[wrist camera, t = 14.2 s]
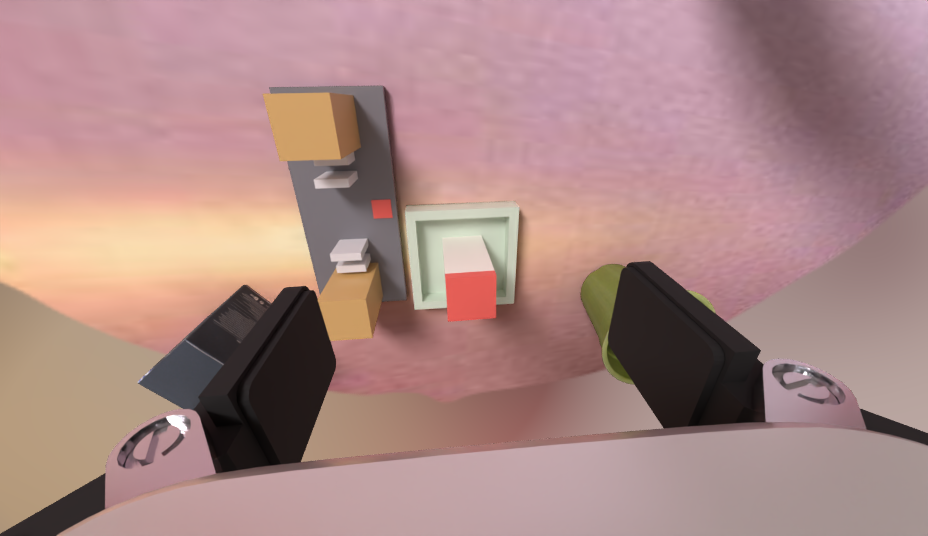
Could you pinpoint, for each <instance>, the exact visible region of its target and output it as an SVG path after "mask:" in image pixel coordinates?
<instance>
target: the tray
mask: <svg viewBox="0 0 928 536" xmlns="http://www.w3.org/2000/svg"><path fill="white" fill-rule="evenodd" d="M405 219H406V229H407V239H408V249H409V259H410V269H411V279H412V289H413V299H414V309H415V310H419V309H435V308H447V301H446V287H445V274H444V259H443V244H442V238H446V237H462V236H478V235H481V236H482V238H483V241H484V244H485V246H486V249H487V252H488V254H489V257H490V260H491V262H492V265H493V268H494V270H495V273H496V275H497V276H496V305H498V304H514V293H515V275H516V258H517V240H518V223H519V206H518V205H517V204H516V202H515V201H500V202H476V203H452V204H428V205H406V209H405Z"/></svg>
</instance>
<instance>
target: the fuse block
mask: <svg viewBox="0 0 928 536" xmlns="http://www.w3.org/2000/svg"><path fill="white" fill-rule="evenodd" d="M269 89H270V93H271V94H263V97H264V101H265V105H266V108H267V112H268V116H269V120H270V124H271V128H272V132H273V136H274V140H275V144H276V148H277V152H278V155H279V159H280V161H287V162H288V166H289V170H290V174H291V178H292V182H293V186H294V190H295V195H296V199H297V203H298V207H299V211H300V215H301V219H302V223H303V227H304V231H305V235H306V239H307V243H308V247H309V251H310V256H311V260H312V264H313V268H314V272H315V276H316V280H317V284H318V288H319V292H320V296H319V298H318V303H319V306H320V309H321V312H322V316H323V319H324V322H325V325H326V329H327V332H328V335H329V339H330V341H335V340H350V339H364V338H373V334H374V330H375V326H376V322H377V318H378V314H379V310H380V306H381V302H384V301H400V300H407V290H406V281H405V272H404V263H403V254H402V245H401V236H400V227H399V217H398V208H397V199H396V190H395V181H394V172H393V163H392V154H391V145H390V136H389V127H388V118H387V109H386V100H385V90H384V86H327V87H269Z"/></svg>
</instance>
